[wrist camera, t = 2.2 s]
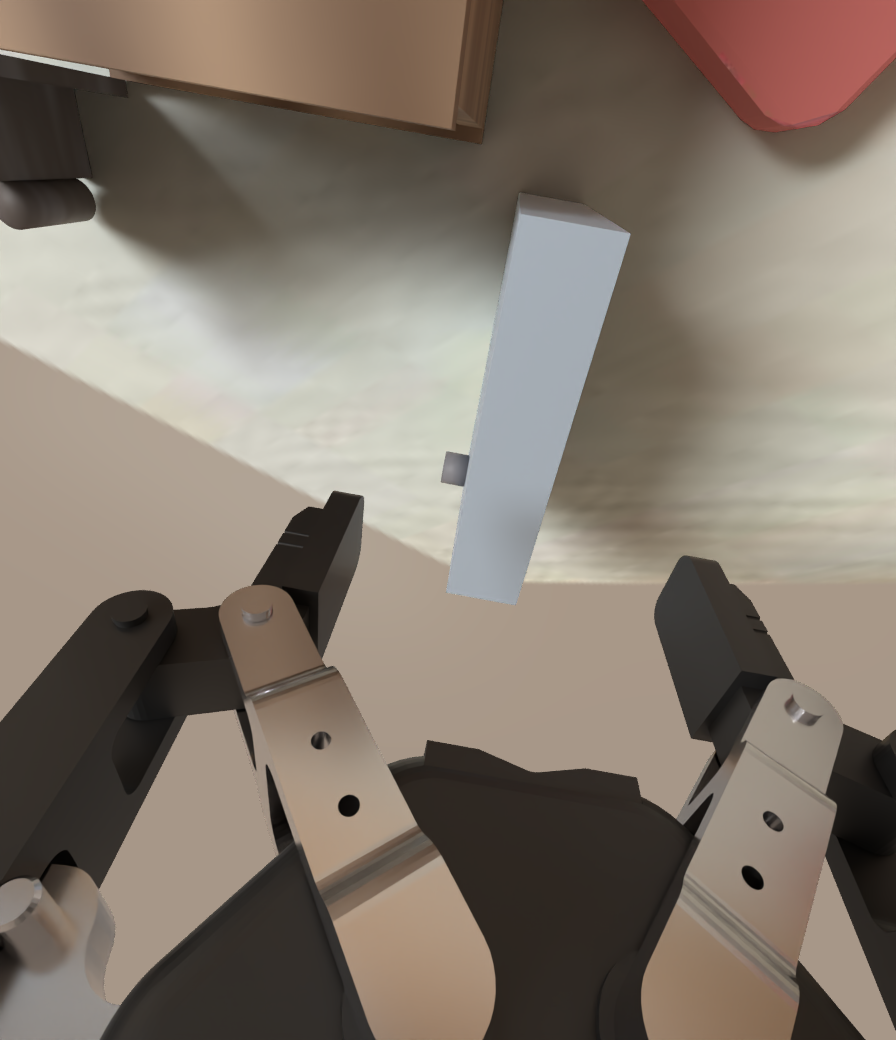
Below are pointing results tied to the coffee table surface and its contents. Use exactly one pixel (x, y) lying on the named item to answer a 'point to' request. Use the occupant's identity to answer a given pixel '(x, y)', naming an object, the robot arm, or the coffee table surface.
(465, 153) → the coffee table surface
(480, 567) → the door
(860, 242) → the coffee table surface
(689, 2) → the plaque
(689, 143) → the coffee table surface
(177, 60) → the cabinet
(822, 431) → the coffee table surface
